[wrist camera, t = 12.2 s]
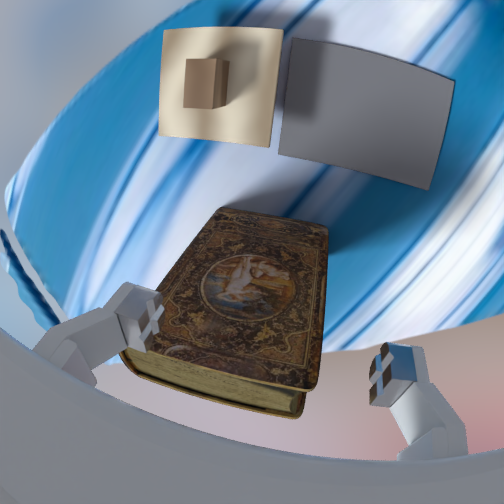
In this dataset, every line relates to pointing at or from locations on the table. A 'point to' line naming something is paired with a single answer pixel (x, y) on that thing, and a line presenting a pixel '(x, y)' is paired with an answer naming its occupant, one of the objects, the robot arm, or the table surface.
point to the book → (243, 314)
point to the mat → (364, 112)
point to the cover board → (241, 86)
